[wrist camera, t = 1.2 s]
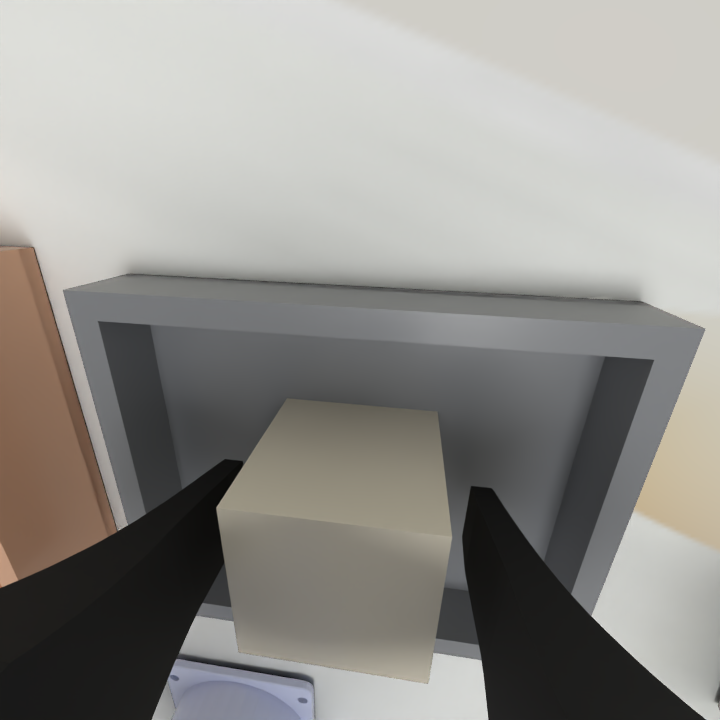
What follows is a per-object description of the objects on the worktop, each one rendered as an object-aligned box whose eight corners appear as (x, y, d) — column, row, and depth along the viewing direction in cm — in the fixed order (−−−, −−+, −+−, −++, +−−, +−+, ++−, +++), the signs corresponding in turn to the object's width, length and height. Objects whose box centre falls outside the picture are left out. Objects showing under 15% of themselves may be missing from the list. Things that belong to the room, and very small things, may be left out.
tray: (545, 604, 15) (567, 673, 13) (186, 554, 17) (151, 608, 15) (642, 301, 11) (705, 328, 8) (128, 273, 12) (62, 290, 10)
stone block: (423, 528, 14) (428, 683, 10) (293, 512, 15) (238, 652, 10) (437, 411, 12) (452, 536, 8) (286, 398, 13) (216, 507, 8)
